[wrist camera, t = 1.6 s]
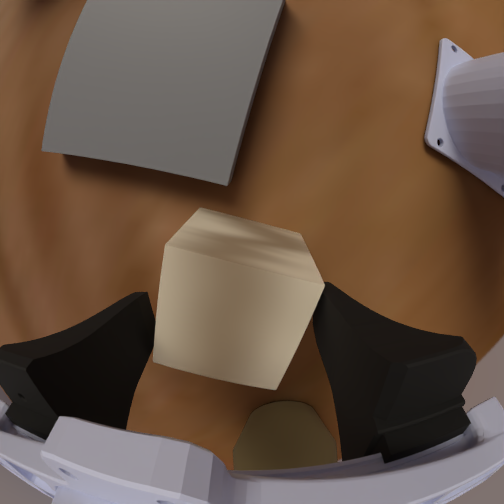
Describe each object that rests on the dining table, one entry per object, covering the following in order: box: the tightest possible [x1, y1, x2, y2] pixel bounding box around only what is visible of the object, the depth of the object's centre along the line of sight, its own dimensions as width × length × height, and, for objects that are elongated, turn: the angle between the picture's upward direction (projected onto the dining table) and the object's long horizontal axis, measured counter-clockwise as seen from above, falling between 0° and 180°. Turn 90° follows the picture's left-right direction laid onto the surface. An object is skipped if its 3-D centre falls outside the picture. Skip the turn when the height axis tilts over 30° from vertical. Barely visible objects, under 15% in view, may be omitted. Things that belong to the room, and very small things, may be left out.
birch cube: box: [153, 207, 325, 390], centre depth 13 cm, size 6×6×6 cm
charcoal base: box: [42, 0, 285, 186], centre depth 11 cm, size 11×11×2 cm
